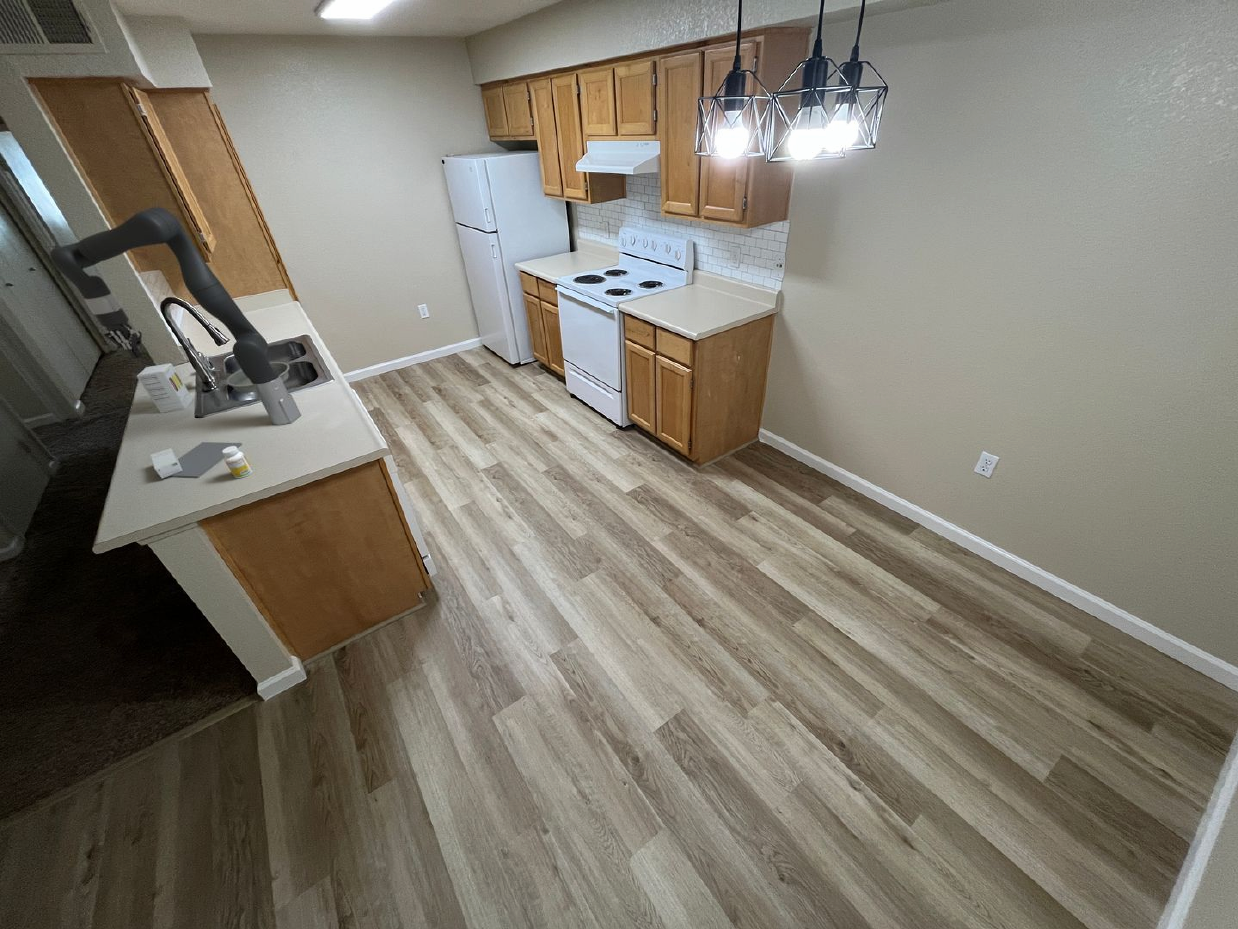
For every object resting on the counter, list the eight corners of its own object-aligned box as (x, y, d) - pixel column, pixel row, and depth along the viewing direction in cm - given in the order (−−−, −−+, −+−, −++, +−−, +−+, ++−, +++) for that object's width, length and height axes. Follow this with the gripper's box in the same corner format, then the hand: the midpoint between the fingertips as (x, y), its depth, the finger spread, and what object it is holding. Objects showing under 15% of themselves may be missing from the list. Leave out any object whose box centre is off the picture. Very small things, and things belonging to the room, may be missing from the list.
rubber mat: (242, 444, 183) (241, 443, 183) (198, 477, 167) (197, 476, 167) (203, 443, 185) (202, 442, 185) (156, 476, 169) (155, 474, 169)
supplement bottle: (239, 469, 170) (225, 445, 164) (256, 468, 170) (242, 443, 164) (231, 479, 165) (215, 454, 159) (248, 477, 165) (233, 453, 160)
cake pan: (293, 385, 223) (289, 375, 221) (229, 400, 214) (223, 390, 211) (292, 365, 241) (288, 357, 238) (233, 379, 232) (228, 370, 229)
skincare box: (156, 464, 174) (161, 480, 167) (149, 454, 171) (153, 469, 164) (178, 457, 177) (183, 472, 170) (170, 446, 174) (176, 461, 167)
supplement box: (186, 409, 209) (162, 371, 200) (160, 413, 207) (135, 376, 197) (193, 399, 217) (171, 362, 207) (168, 403, 215) (145, 366, 205)
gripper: (78, 313, 167) (112, 362, 177) (113, 312, 165) (145, 362, 175) (100, 305, 173) (131, 353, 183) (133, 305, 171) (163, 353, 181)
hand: (138, 357), depth 179 cm, fingers closed
